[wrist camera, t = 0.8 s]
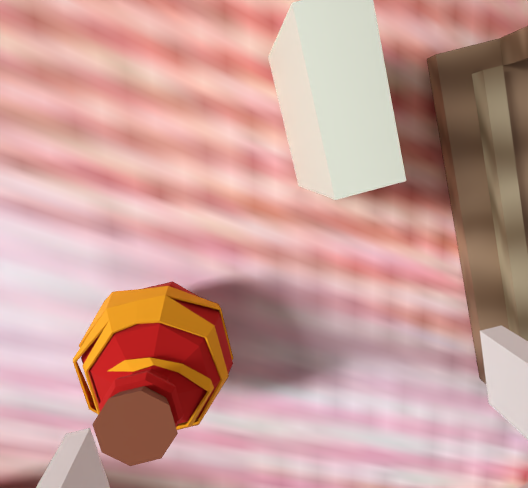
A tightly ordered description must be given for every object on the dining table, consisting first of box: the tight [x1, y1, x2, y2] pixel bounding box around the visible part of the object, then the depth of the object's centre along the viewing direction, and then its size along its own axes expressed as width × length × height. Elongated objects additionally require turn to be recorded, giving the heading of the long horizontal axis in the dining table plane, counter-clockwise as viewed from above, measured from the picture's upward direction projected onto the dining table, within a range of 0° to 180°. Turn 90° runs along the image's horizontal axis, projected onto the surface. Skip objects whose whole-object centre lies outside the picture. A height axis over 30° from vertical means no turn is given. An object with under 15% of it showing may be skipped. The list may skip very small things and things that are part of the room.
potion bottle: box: [73, 282, 233, 466], centre depth 30 cm, size 10×10×15 cm
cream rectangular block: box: [268, 0, 406, 200], centre depth 29 cm, size 10×4×12 cm, turn 14°
